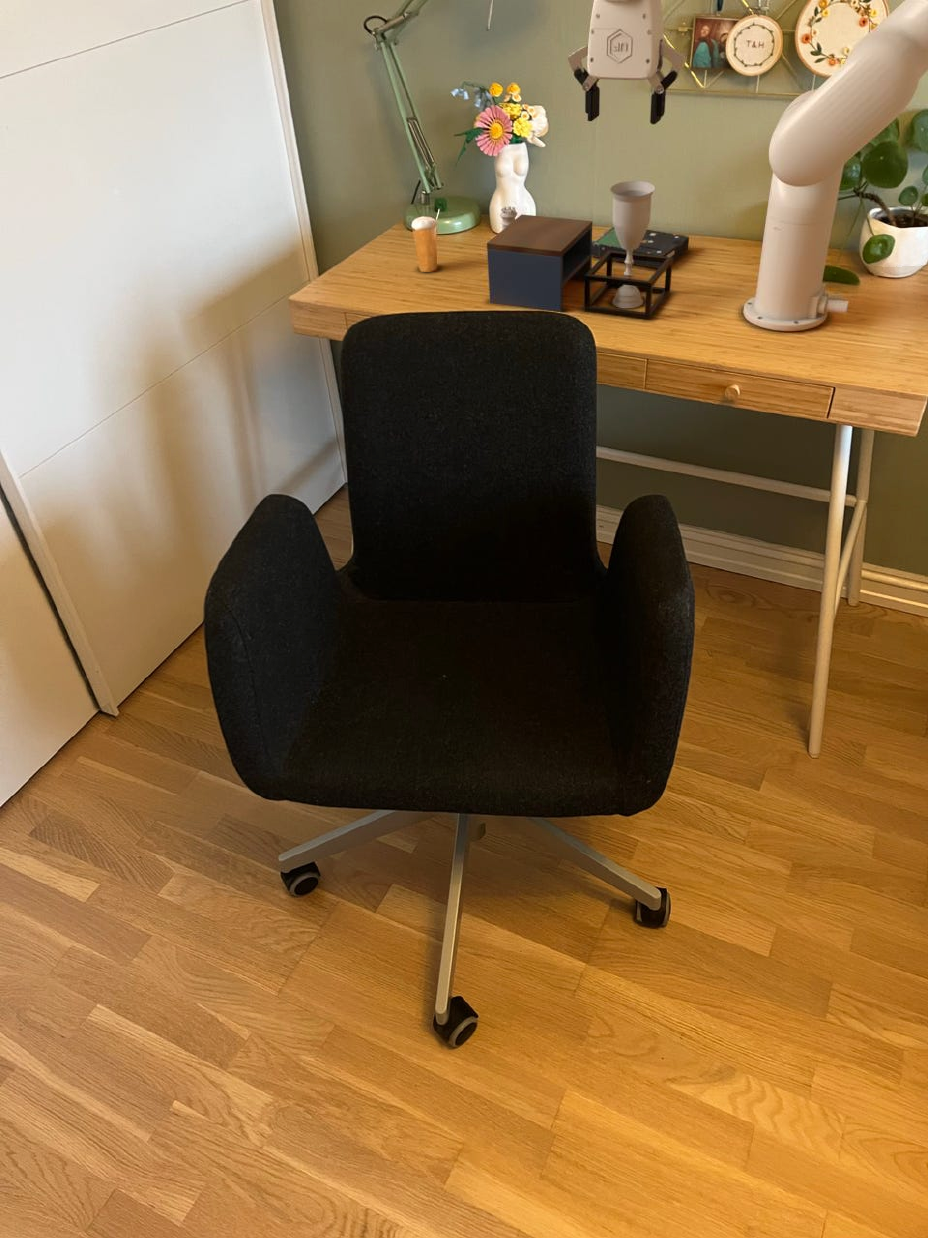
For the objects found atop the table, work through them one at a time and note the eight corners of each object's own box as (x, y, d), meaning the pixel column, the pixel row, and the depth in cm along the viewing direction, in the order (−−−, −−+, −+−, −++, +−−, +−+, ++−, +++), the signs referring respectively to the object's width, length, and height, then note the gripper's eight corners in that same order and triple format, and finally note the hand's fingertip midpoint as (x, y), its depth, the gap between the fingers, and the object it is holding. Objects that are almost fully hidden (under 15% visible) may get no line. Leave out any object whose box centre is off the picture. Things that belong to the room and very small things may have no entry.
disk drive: (688, 251, 174) (616, 237, 181) (690, 235, 172) (617, 222, 179) (662, 271, 168) (588, 256, 175) (663, 255, 166) (589, 241, 173)
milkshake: (448, 269, 175) (444, 212, 169) (421, 275, 174) (415, 218, 168) (439, 261, 179) (435, 205, 172) (412, 267, 177) (406, 211, 171)
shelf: (591, 279, 167) (592, 220, 161) (561, 312, 158) (560, 251, 152) (523, 271, 172) (521, 214, 166) (489, 302, 163) (486, 242, 157)
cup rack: (670, 292, 161) (672, 257, 157) (649, 319, 154) (651, 283, 150) (607, 285, 165) (608, 250, 161) (583, 311, 158) (584, 275, 154)
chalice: (647, 311, 156) (653, 196, 144) (604, 310, 157) (608, 196, 146) (649, 293, 161) (656, 180, 150) (608, 292, 163) (612, 180, 151)
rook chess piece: (516, 246, 182) (514, 202, 176) (525, 254, 178) (524, 209, 173) (494, 251, 181) (492, 207, 175) (503, 259, 177) (501, 214, 172)
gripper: (559, -12, 132) (560, 124, 143) (682, -13, 125) (673, 130, 137) (579, -22, 137) (578, 111, 148) (698, -23, 130) (688, 115, 141)
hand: (624, 120), depth 142 cm, fingers open, 9 cm apart
